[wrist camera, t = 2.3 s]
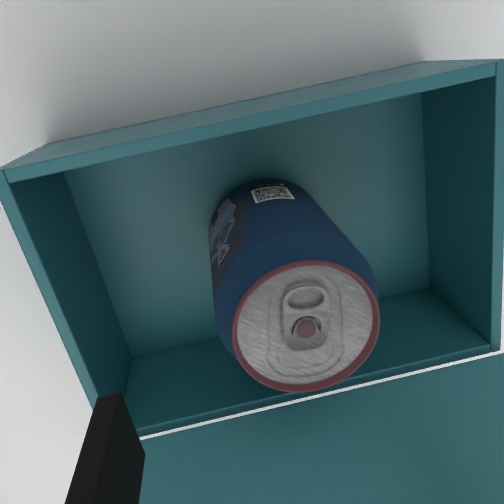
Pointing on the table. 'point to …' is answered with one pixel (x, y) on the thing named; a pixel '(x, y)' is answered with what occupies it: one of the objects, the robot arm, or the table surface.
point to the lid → (347, 447)
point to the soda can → (289, 288)
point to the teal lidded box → (280, 167)
